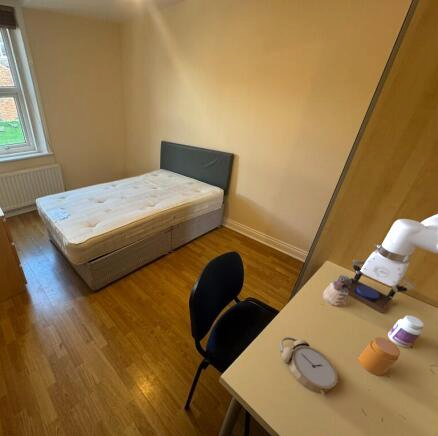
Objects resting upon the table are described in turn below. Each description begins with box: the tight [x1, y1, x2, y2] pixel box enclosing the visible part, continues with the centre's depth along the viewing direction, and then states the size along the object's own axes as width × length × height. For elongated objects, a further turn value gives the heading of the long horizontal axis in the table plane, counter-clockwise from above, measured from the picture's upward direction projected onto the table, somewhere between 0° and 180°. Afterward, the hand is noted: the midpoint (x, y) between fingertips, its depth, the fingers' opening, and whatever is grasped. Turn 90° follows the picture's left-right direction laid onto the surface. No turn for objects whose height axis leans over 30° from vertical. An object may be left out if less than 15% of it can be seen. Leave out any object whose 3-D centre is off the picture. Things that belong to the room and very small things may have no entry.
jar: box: [357, 337, 401, 377], centre depth 66 cm, size 6×6×10 cm
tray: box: [348, 277, 394, 314], centre depth 90 cm, size 13×9×2 cm
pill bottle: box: [387, 315, 425, 348], centre depth 73 cm, size 5×5×10 cm
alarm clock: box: [280, 336, 341, 397], centre depth 68 cm, size 11×5×15 cm
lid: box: [355, 284, 379, 302], centre depth 90 cm, size 7×7×2 cm
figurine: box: [322, 275, 352, 308], centre depth 87 cm, size 7×7×12 cm
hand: (371, 288), depth 88 cm, fingers open, 9 cm apart
